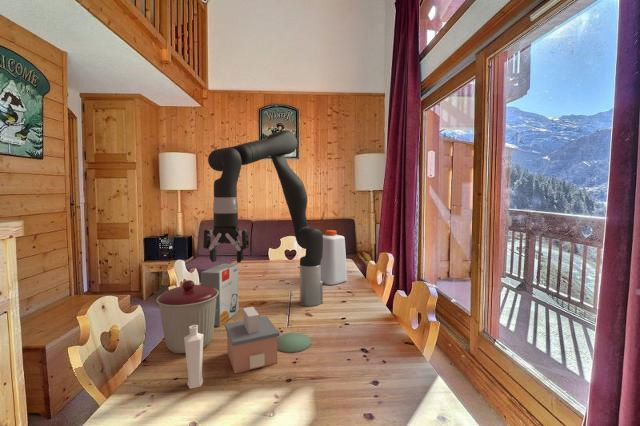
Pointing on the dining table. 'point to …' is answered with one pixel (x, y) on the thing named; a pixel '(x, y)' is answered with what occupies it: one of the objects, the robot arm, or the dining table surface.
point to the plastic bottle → (333, 259)
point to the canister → (187, 313)
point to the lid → (250, 328)
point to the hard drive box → (223, 290)
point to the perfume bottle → (194, 357)
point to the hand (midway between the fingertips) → (226, 261)
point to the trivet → (293, 342)
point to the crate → (252, 354)
